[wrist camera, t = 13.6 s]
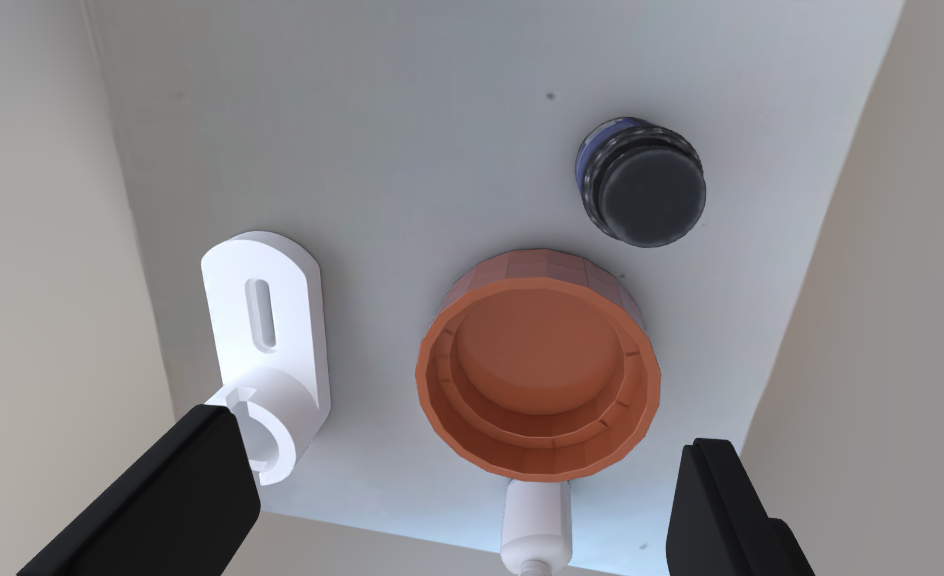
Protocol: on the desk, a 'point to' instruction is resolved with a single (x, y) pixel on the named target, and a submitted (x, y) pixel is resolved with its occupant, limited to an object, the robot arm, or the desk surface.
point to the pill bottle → (640, 182)
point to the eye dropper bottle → (536, 528)
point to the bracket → (269, 346)
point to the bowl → (538, 368)
